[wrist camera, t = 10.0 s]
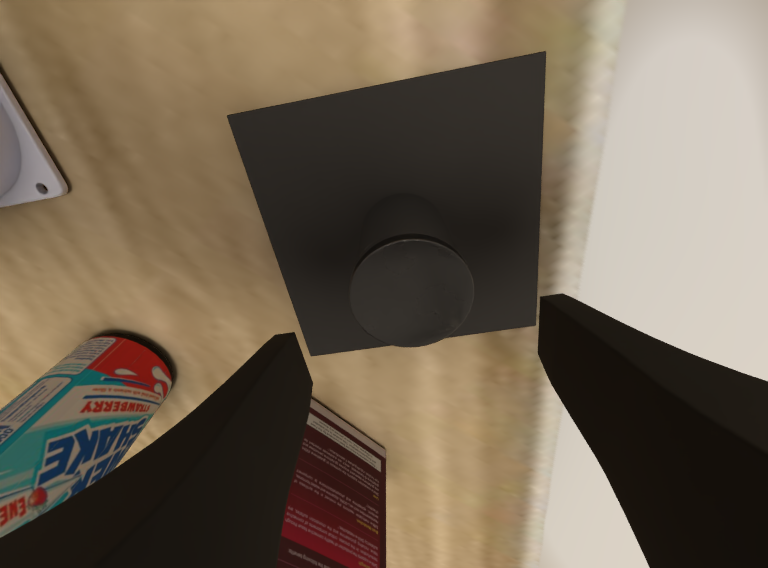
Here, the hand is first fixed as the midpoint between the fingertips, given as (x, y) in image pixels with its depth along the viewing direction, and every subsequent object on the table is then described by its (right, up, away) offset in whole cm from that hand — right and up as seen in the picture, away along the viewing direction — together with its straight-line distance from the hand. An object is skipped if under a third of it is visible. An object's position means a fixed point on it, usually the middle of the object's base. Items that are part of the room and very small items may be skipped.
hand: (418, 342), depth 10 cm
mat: (0, +4, +8) cm, 9 cm away
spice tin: (0, +4, +8) cm, 9 cm away
